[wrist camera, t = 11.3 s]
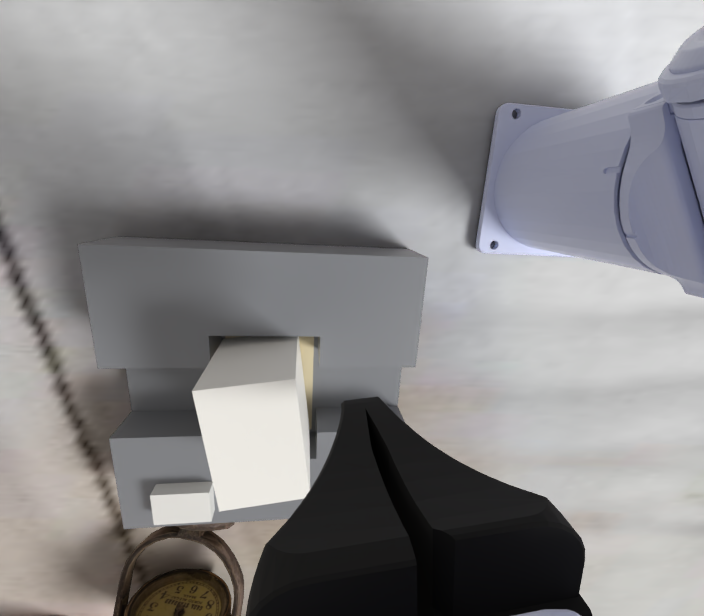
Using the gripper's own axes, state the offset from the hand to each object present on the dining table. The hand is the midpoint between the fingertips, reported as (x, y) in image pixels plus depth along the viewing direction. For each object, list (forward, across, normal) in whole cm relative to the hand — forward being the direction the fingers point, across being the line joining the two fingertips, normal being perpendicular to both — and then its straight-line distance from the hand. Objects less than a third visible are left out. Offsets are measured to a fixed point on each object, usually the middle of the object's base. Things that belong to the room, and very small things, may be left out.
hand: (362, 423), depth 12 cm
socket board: (+10, +4, +2) cm, 11 cm away
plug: (+9, +4, +2) cm, 10 cm away
